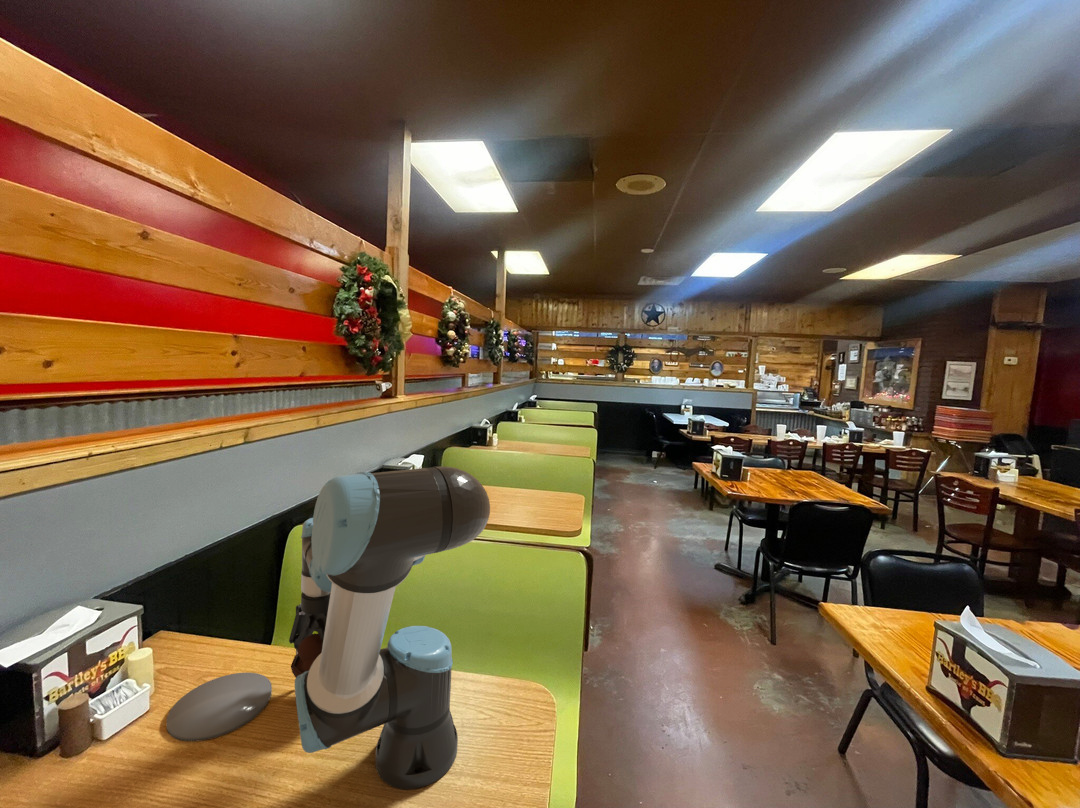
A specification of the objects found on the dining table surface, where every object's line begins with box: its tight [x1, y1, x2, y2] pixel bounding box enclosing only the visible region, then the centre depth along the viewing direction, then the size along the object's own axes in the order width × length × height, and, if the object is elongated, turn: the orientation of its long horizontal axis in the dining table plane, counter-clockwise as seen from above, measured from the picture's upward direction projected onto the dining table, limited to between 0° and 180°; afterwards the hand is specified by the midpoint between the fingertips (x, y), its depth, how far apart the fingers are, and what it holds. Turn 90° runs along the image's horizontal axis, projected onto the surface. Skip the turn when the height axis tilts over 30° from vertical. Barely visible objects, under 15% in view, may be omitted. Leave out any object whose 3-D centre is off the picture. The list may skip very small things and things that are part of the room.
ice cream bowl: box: [290, 632, 323, 678], centre depth 96 cm, size 11×11×15 cm
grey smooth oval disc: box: [165, 672, 273, 742], centre depth 93 cm, size 18×18×1 cm
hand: (319, 685), depth 97 cm, fingers closed on ice cream bowl, 11 cm apart
